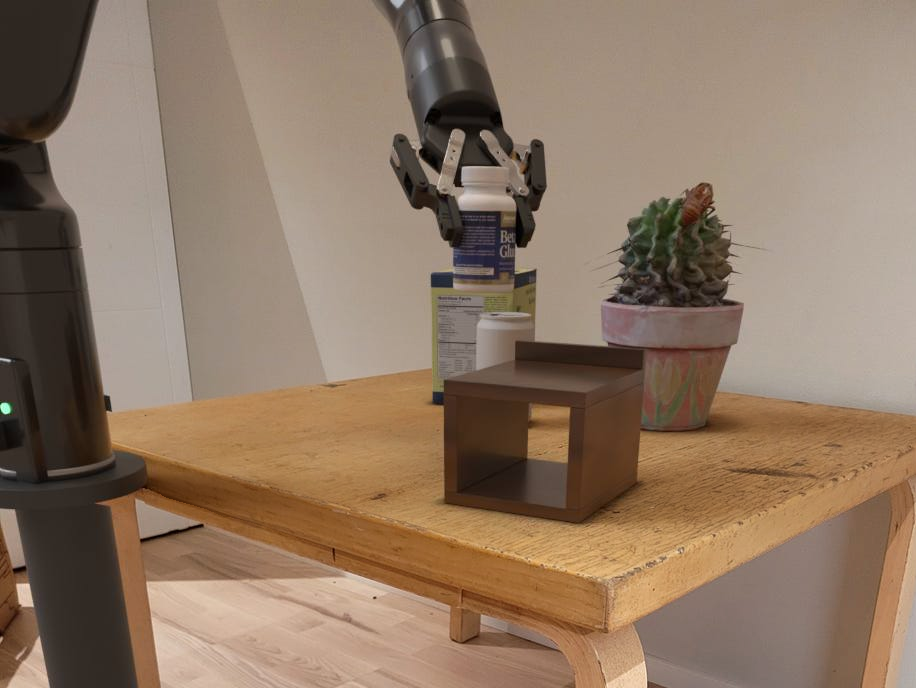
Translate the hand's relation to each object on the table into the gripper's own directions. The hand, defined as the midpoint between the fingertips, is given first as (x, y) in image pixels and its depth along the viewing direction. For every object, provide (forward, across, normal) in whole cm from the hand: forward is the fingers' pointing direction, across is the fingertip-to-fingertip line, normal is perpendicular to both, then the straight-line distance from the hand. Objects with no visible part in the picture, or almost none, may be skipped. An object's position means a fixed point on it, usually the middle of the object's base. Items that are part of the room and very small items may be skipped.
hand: (491, 239), depth 80 cm
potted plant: (+2, +27, +27) cm, 38 cm away
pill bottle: (+2, 0, +4) cm, 5 cm away
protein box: (-13, +13, +42) cm, 46 cm away
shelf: (+20, +2, +9) cm, 22 cm away
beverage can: (-1, +9, +29) cm, 31 cm away
